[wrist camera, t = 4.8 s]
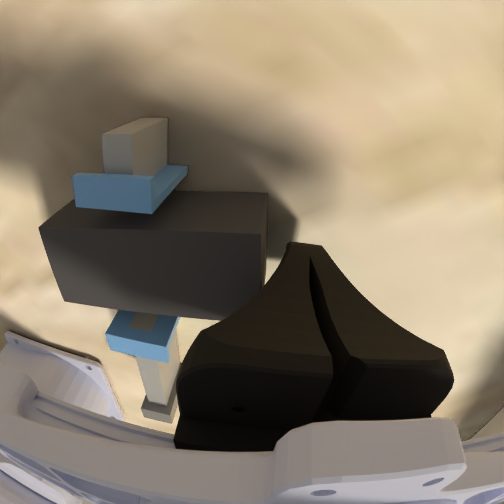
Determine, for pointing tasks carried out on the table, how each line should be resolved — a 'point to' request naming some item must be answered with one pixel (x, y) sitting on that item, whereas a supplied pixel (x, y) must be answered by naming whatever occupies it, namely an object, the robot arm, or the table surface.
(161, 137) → the blue capped pillar
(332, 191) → the table surface
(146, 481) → the robot arm
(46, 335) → the table surface
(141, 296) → the charcoal brick
